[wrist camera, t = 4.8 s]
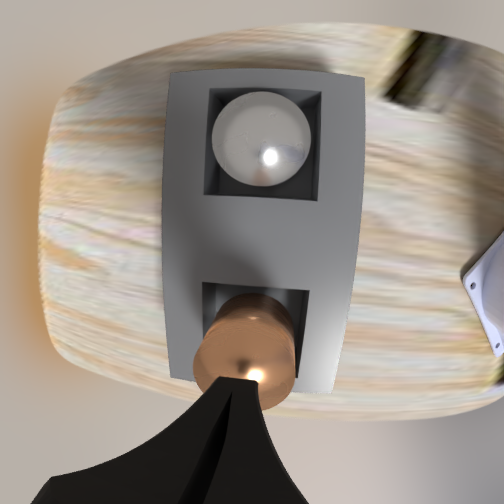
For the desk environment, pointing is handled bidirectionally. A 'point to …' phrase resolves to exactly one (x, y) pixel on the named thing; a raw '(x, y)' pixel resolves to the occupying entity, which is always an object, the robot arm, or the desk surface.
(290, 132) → the aluminium plunger
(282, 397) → the copper plunger
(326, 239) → the block
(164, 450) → the robot arm
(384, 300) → the desk surface
